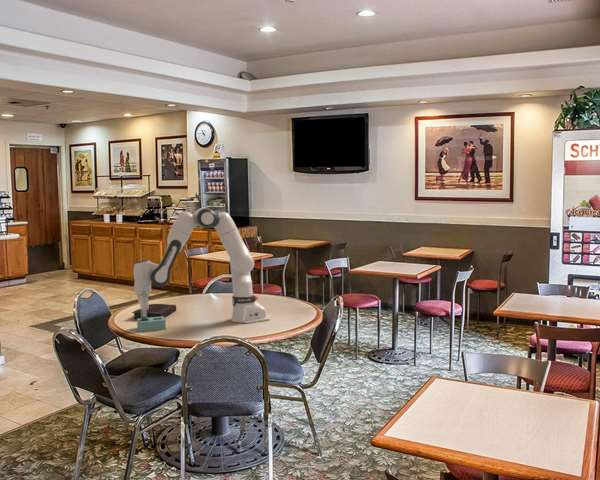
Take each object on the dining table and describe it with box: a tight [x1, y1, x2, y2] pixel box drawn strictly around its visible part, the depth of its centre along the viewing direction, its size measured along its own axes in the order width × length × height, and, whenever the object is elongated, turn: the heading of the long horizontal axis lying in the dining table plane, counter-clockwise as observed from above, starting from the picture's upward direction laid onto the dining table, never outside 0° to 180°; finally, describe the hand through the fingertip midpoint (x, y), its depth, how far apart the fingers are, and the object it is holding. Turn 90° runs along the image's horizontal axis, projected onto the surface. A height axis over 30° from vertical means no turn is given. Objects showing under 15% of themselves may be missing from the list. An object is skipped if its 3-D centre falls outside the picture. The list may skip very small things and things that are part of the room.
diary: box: [131, 303, 177, 321], centre depth 344 cm, size 19×25×5 cm
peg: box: [140, 308, 147, 321], centre depth 310 cm, size 3×3×12 cm
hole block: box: [136, 316, 167, 333], centre depth 312 cm, size 14×10×5 cm
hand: (144, 315), depth 310 cm, fingers closed on peg, 3 cm apart
